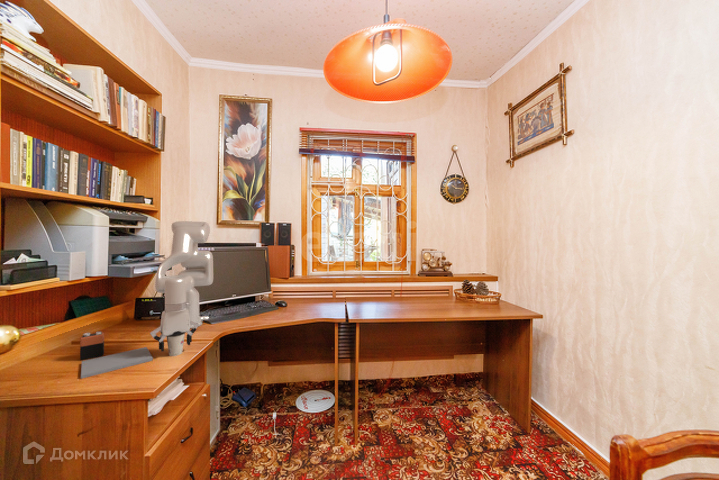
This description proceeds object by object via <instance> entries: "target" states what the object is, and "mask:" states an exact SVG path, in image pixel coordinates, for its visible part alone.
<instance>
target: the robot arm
mask: <svg viewBox="0 0 719 480" xmlns="http://www.w3.org/2000/svg"><path fill="white" fill-rule="evenodd" d="M171 231H172V233H173V235H172V243H171V251H170V252H171V253H170V255H169V256H167V257H166V258H165V259H164V260H163V261H162V262H161V263H160V264H159V266H158V268H157V270H156V274H155V275H156V276H155V281H154V283H155V284H154V289H155V291H156V292H157V293H159V294H164V310H163V311H162V313H161V316H160V318H161V319H160V325H159V326H158V327H157V328H155V329H154V330H152V331H150V333H149V334H150V335H151V337H152V338H153V339H154V340H155V341H157V342H158V350H160V351H161V352H164V351H165V341H164V340H165V339H166V338H167V337H166V336H169V335H172V334H173V333H174V332H177V331H180V332H185V333H186V334H187V335H186V345H187V346H191V343H192V341H193V340H192V339H193V338H192V336H193V334H195V332H196V331H197V328H198V327H200V326H202V325H203V321H209V318H210V317H209V315H207V316H206V315H204V316H201V315H200V293H199V291H198V289H196V288H195V287H204V286H205V287H206V286H207V287H208V286H211V285H212V284H213V283H214V255H213V253H212V252H211V251H209V250H199V248H198V246H199V245H198V244H205V243H207V242H208V239H209V236H210V234H211V233H210V232H211V228H210V224H209V223H208V222H206V221H193V220H192V221H189V220H188V221H187V220H181V221H174V222H172V223H171ZM179 264H180V265H181V267H182V268H187V269H184V270H181V271H179V272H178V273H177V275H166V274H167V273H166V272H168V270H169V269H171V268H172V267H174V266H177V265H179ZM188 268H189V269H188ZM192 268H193V269H192ZM194 268H195V269H194ZM197 268H202V269H197ZM157 333H160V336H158V335H157Z"/></svg>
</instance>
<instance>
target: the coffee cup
mask: <svg viewBox="0 0 719 480" xmlns="http://www.w3.org/2000/svg"><path fill="white" fill-rule="evenodd" d="M185 334H186V332H180V331H177V332H174V333H173V334H172V335H169V336H166V337H165V338H166V343H167V349H168V355H169V356H170V357H176V356H179V355H181V354H183V349H184V344H185Z"/></svg>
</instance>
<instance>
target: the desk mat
mask: <svg viewBox="0 0 719 480" xmlns="http://www.w3.org/2000/svg"><path fill="white" fill-rule="evenodd" d="M153 359H154V357H153V356H152V354H151V352H150V351H149V349H148V347H147V346H145V347H144V346H143V347H139V348H135V349H131V350H127V351H123V352H117V353H113V354H112V353H111V354H108V355H105V356H104V355H103V356H101V357H96V358H91V359H86V360H81V369H80V370H81V371H80V379H86V378H89V377H93V376H97V375H100V374H104V373H109V372H112V371H116V370H121V369H124V368H128V367H132V366H133V367H134V366H136V365H140V364H144V363H147V362H148V363H149V362H152V361H153Z"/></svg>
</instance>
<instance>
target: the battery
mask: <svg viewBox="0 0 719 480" xmlns="http://www.w3.org/2000/svg"><path fill="white" fill-rule="evenodd" d="M104 354H105V332H103V331H96V332H95V333H91V332H86V333H83V335H81V337H80V339H79V355H80V356H79V359H80V361H85V360H90V359H94V358H99V357H103V356H104Z"/></svg>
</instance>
